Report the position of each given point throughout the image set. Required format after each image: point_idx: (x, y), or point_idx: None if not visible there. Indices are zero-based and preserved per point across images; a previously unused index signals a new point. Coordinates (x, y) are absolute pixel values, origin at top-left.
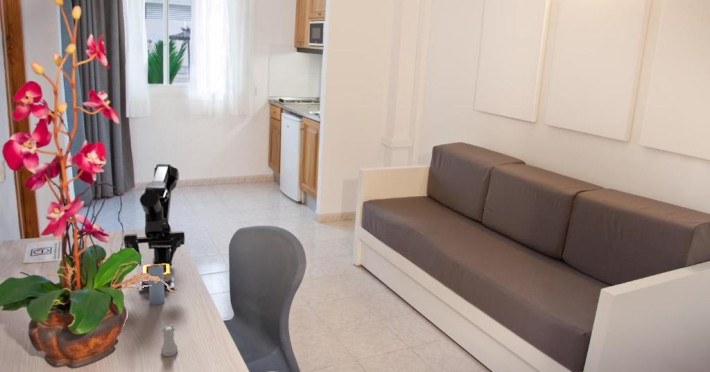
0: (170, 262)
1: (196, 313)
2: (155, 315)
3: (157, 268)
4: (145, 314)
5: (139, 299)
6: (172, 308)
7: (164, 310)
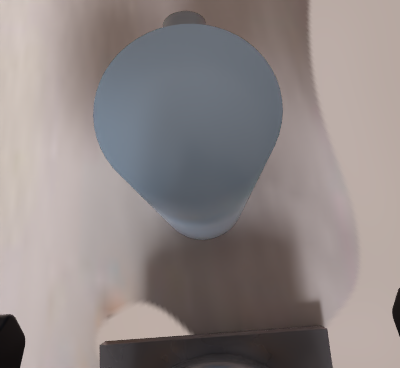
0: (7, 316)
1: (3, 51)
2: None
3: (163, 77)
4: None
5: (307, 239)
6: None
7: None
